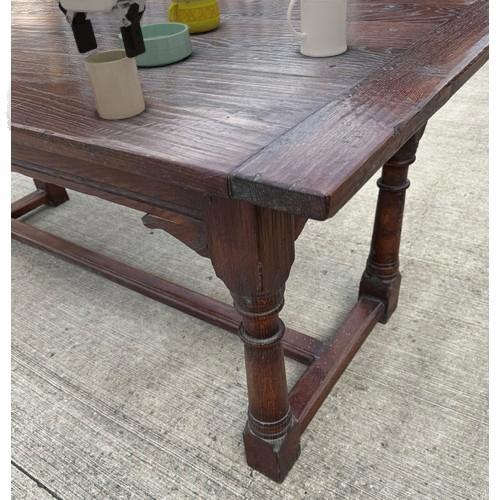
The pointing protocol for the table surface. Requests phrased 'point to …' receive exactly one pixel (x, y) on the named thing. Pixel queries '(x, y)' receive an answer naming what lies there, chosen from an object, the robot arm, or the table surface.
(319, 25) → the mug
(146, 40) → the bowl
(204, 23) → the mug
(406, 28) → the table surface
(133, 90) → the cup
